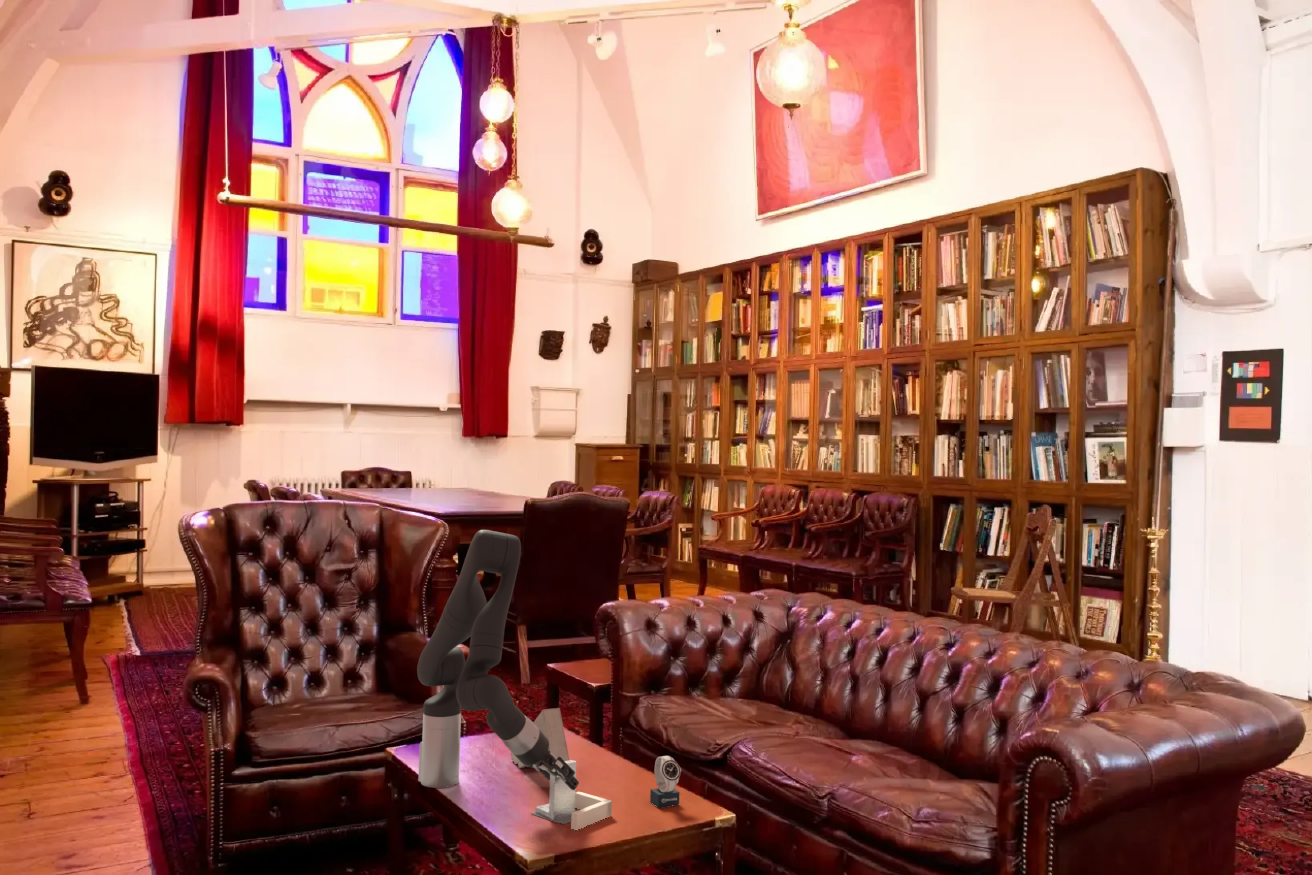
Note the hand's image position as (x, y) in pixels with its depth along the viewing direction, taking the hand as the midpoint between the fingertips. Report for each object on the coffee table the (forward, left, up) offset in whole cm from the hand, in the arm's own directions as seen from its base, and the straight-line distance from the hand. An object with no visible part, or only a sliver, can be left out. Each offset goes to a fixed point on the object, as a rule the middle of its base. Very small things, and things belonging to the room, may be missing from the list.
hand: (563, 781), depth 227 cm
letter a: (-22, +16, -8) cm, 29 cm away
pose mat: (-1, 0, -8) cm, 8 cm away
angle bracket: (-2, 0, -8) cm, 8 cm away
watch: (+12, +22, -8) cm, 27 cm away
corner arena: (+3, +1, -8) cm, 9 cm away
